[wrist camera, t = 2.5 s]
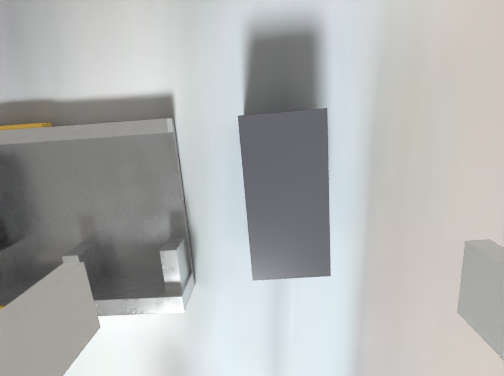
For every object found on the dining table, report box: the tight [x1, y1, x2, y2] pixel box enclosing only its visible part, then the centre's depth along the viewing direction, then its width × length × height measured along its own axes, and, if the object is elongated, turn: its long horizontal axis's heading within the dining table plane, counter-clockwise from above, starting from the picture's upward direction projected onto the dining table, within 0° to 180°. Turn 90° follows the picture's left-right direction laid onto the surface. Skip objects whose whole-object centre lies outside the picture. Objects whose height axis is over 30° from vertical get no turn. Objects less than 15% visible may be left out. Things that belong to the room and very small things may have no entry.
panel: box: [238, 108, 331, 280], centre depth 24 cm, size 12×6×7 cm, turn 5°
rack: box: [0, 118, 195, 316], centre depth 26 cm, size 17×29×5 cm, turn 94°
